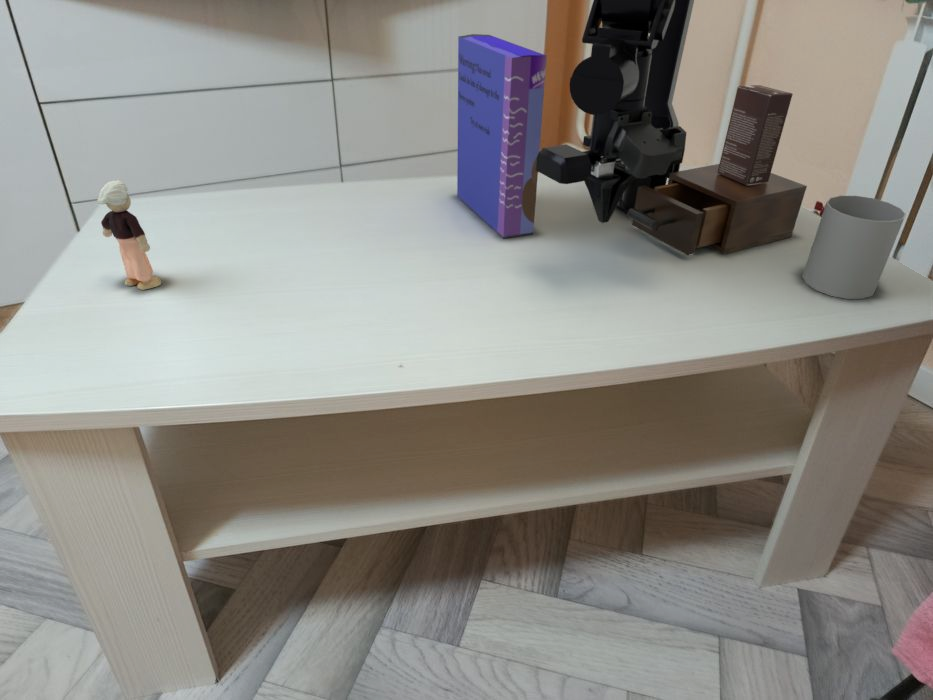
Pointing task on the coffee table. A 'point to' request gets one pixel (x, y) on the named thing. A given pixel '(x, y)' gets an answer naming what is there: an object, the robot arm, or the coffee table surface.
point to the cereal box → (499, 131)
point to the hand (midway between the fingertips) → (603, 221)
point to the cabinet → (748, 206)
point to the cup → (852, 246)
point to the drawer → (680, 216)
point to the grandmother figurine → (127, 235)
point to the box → (754, 134)
